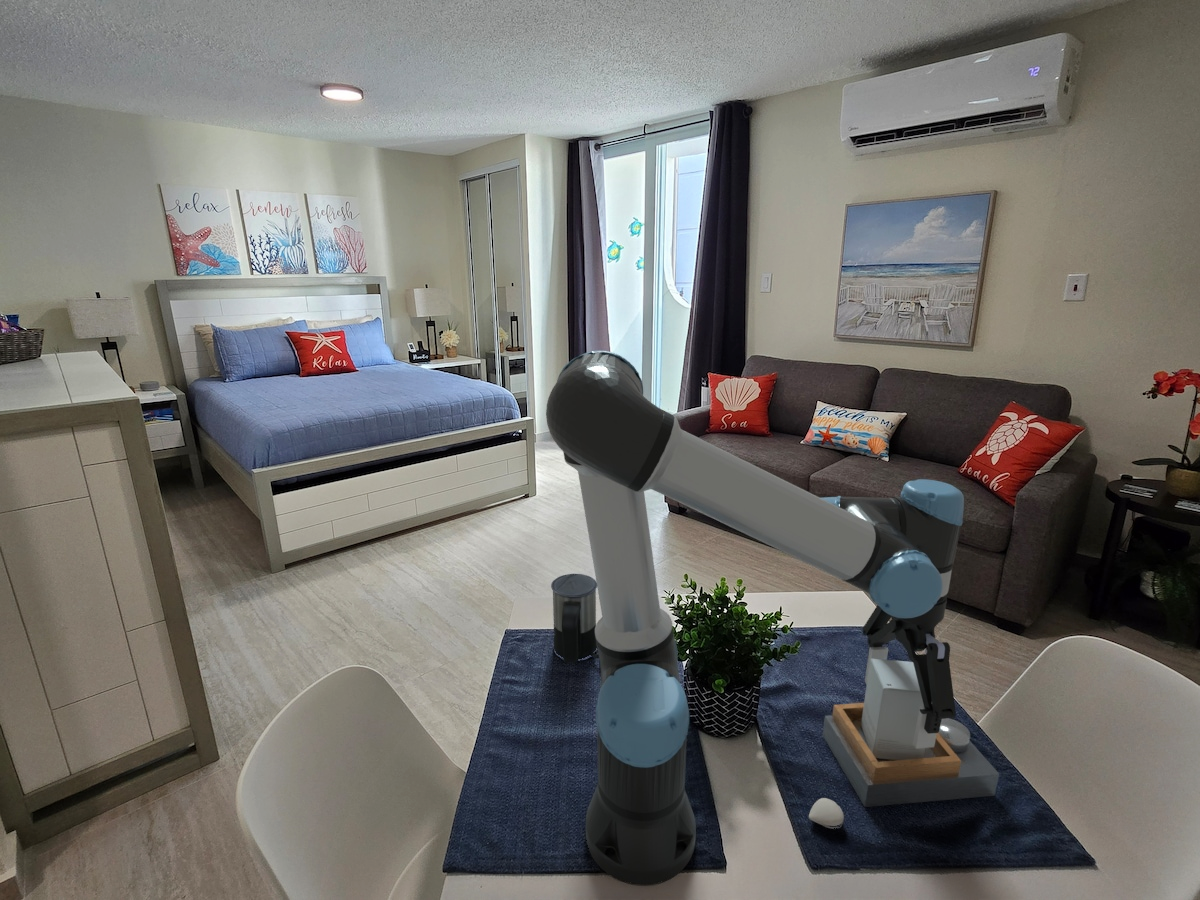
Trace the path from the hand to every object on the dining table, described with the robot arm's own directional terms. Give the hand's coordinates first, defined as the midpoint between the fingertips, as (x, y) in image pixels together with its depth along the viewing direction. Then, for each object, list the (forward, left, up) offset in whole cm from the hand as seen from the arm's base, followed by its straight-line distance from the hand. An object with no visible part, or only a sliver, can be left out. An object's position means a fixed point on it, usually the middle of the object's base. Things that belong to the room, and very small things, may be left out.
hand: (896, 712), depth 93 cm
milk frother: (-43, +33, -10) cm, 56 cm away
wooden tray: (+3, 0, -10) cm, 10 cm away
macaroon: (-14, -9, -10) cm, 20 cm away
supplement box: (0, 0, -6) cm, 6 cm away
